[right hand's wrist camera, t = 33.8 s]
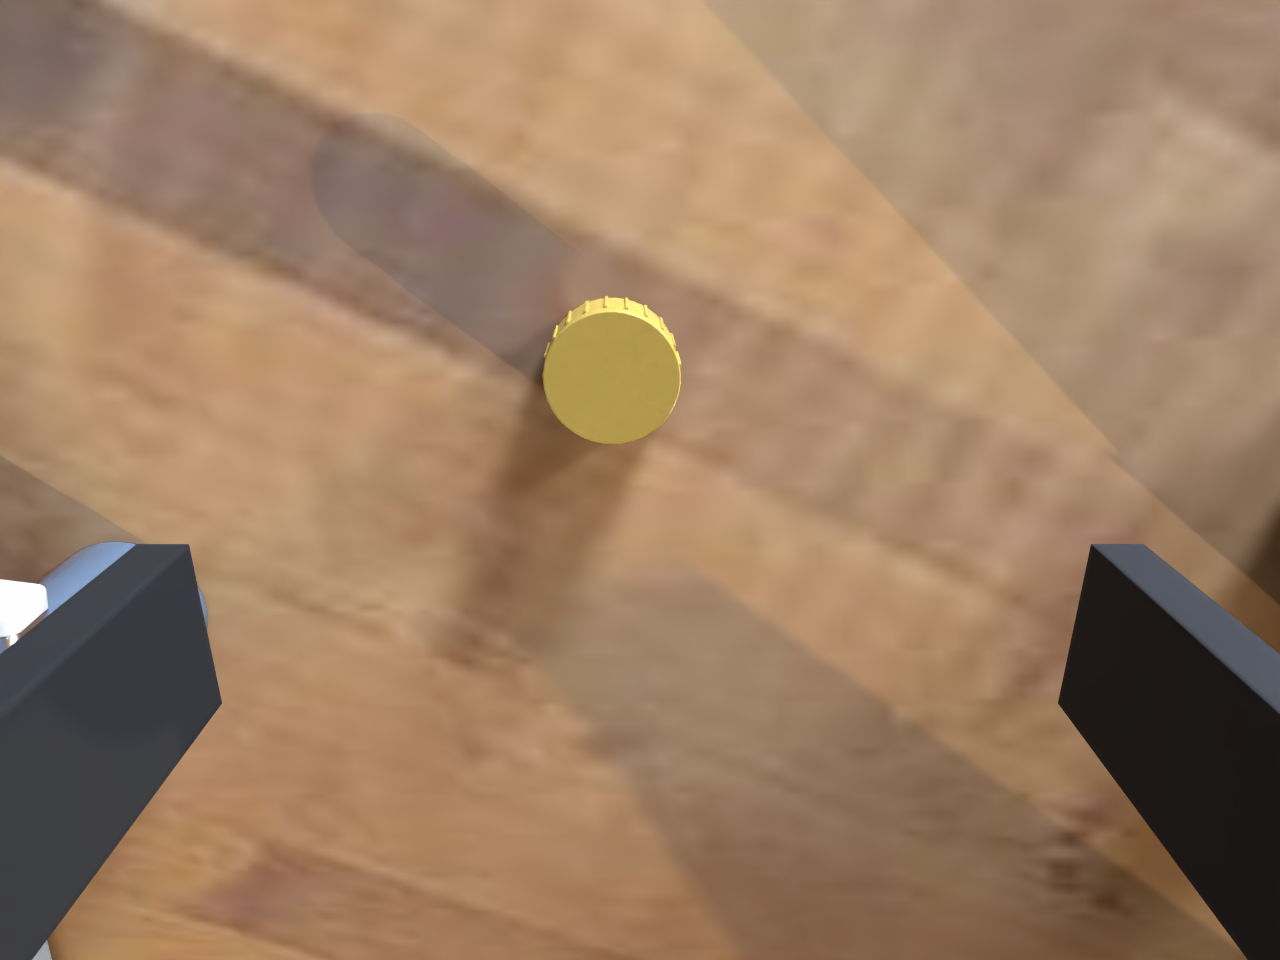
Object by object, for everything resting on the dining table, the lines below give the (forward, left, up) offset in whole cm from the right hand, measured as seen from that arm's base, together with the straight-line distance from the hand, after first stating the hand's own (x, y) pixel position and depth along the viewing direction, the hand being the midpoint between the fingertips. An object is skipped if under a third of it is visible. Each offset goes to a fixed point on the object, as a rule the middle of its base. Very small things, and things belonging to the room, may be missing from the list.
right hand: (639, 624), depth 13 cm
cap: (0, -1, -12) cm, 12 cm away
